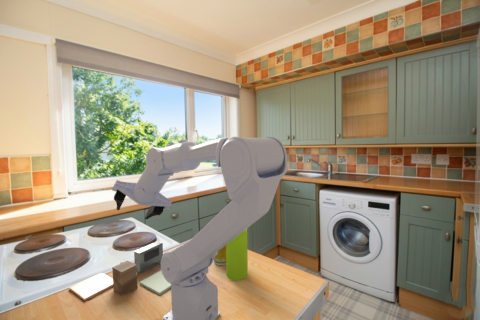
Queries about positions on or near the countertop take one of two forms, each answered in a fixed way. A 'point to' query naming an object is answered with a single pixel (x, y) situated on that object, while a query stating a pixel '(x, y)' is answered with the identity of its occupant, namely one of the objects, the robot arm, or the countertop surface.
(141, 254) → the grey unit
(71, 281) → the countertop surface
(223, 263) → the supplement bottle
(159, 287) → the sage tile
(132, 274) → the walnut block
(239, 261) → the soap dispenser
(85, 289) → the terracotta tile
